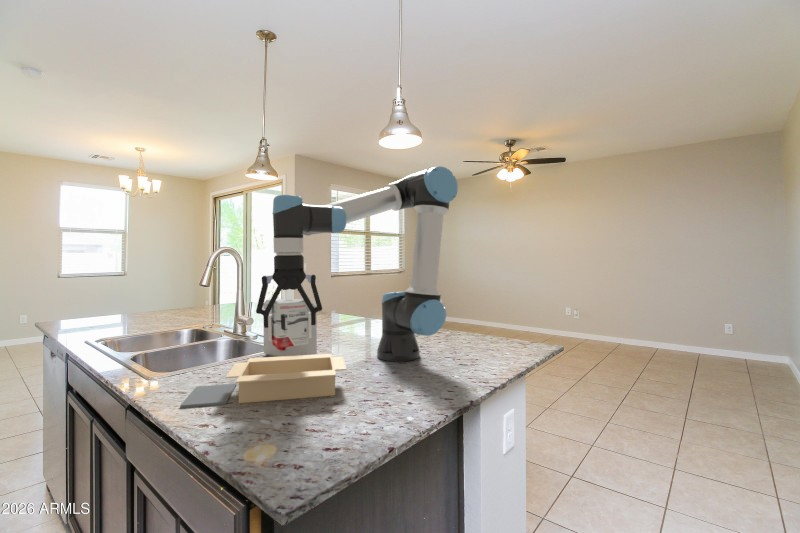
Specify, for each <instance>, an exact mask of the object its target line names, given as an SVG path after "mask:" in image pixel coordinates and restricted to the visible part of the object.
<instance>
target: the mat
mask: <svg viewBox="0 0 800 533" xmlns="http://www.w3.org/2000/svg"><path fill="white" fill-rule="evenodd" d="M236 387H237V383H227V384H225V383H224V384H214V385H213V384H212V385H199V386H195V388H194V389H193V390H192V391H191V392H190V394H188V395H187V397H186V398H185V399H184V400H183V401H182V403H181V404H180V405H179V408H180V409H183V408H185V409H186V408H195V407H206V406H207V407H208V406H210V407H211V406H219V405H220V406H221V405H227V403H228V401H229V400H230V397H231V396H232V395H233V392H234V390H236Z"/></svg>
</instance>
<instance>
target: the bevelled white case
mask: <svg viewBox="0 0 800 533" xmlns="http://www.w3.org/2000/svg"><path fill="white" fill-rule="evenodd" d="M270 300H271V298H270V299H265V300H264V304H263V309H266V307H267V305H268V304H269V302H270ZM278 300H286V299H283V298H277V299H276V301H278ZM311 303H312V305H313V306H314V307H317V305H316V302H314V301H311ZM308 313H311V311H310V310H309V308H308ZM269 314H272V308H271V310H270V312H269ZM317 314H318V312H316V324H315V325H311V336H312V338H309V344H305V345H298V346H291V347H284V348H276V347H275V346H274V345H273V343H272V341H269V334H268V328H265V327H264V326H263V353H264V355H266V356H268V357H280V356H298V355H315V354H318V352H317V350H318V346H317V344H318V340H317V339H318V336H317V333H318V331H317V327H318V326H317V317H318V316H317ZM262 316H263V315H262ZM263 320H264V316H263Z"/></svg>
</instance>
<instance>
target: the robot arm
mask: <svg viewBox="0 0 800 533" xmlns="http://www.w3.org/2000/svg"><path fill="white" fill-rule="evenodd" d="M458 186H459V185H458V182H457V179H456V176H455V175H454V173H453V172H452V171H451V170H450V169H448V168H447V167H445V166H441V165H440V166H438V165H437V166H433V167H432V166H431V167H428V168H426V169H424V170H421V171H417V172H414V173H412V174H409V175H407V176H405V177H403V178H401V179H399V180H396V181H394V182H390V183H388V184H386V186H385V187H384V188H380V189H376V190H373V191H370V192H365V193H362V194H360V195H355V196H352V197H349V198H345V199H342V200H337V201H334V202H331V203H327V204H324V205H320V204H319V205H317V204H315V205H314V204H306V203H304V201H303V197H302V196H301V195H296V194H279V195H275V197H274V198H273V203H272V223H273V225H272V226H273V253H274V254H275V255H274V256H273V262H274V263H273V268H274V270H273V274H272V275H263V276H261V284H262V286H261V290H260V293H259V297H258V302H257V306H256V310H255V312H256V314H258V315H262V316H264V319H263V328H264V327H265V328H268V334H269V341H272V314H269V312H270V310H271V308H272V306H273V304H274V302H275V301H276V299H278V297H279V295H280V293H281V291H282V290H283V291H287V290H297V291H298V293H299V294H300V296H301V299H303V300H304V301H305V303H306V305H307V306H308V308H309V310H310V311H311V313H308V331H309V338H312V336H311V325H315V324H316V312H317V313H318V312H321V311H322V310H323V306H322V301H321V299H320V295H319V292H318V288H317V285H316V279H317V277H316V275H315V274H313V273H312V274H306V272H305V267H304V266H305V261H304V260H305V258H304V256H303V255H302V254H303V253H304V236H311V235H318V234H340V233H343V232H344V231H345V228H346V226H347V224H349V223H352V222H355V221H356V222H357V221H359V220H362V219H365V218H368V217H371V216H374V215H378V214H380V213H384V212H387V211H391V210H393V211H395V212H396V211H400V210H404V209H412V208H413V210H414V211H415V212H416V223H415V224H416V225H415V232H414V233H415V234H414V245H413V253H412V254H413V255H412V265H411V275H410V284H409V287H407V289H406V290H405V291H395V292H386V293H384V294H383V295H382V298H381V322H382V323H381V330H382V331H381V332H382V333H381V337H380V340H379V343H378V346H377V350H376V351H377V352H376V357H377V358H378V359H380V360H382V361H386V362H396V363H397V362H410V361H414V360H417V359H418V358H420V352H421V351H420V347H419V343H418V341H417V338H416V335H419V336H424V337H429V336H432V335H436V334H437V333H438V332H439V331H440V330H441V329H442V328H443V326H444V325H445V322H446V318H447V311H446V307H445V306H444V304H443V302H441V296H442V295H441V294H442V293H441V292H439V290H438V286H437V285H438V280H439V278H438V277H439V268H440V267H439V266H440V255H441V247H442V246H441V245H442V243H441V242H442V237H443V236H442V235H443V222H444V216H445V215H446V214H447V213H448V212H449V211H450V210H449V208H450V202H452V201H453V200H454V199H455V198H456V196H457V195H458V191H459V187H458ZM305 279H306V280H307V282H308V283H309V284H310V287H311V291H312V294H313V298H314V301H315V304H316V305H317V307H314V306H313V305H312V303H311V302H312V301H311V300H310V298H309V296H308V294H307V292H306V291H305V289H304V288H303V285H302V284H303V282H304V281H305ZM272 280H273V282H275V284H276V285H277V287H276V288H275V290H274V292H273V294H272V296H271V298H270V299H271V300H270V302H269V304H268V305H267V307H266V309H263V304H264V302H265V301H266V297H267V291H268V287H269V284H271V282H272Z"/></svg>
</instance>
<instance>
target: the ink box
mask: <svg viewBox="0 0 800 533" xmlns="http://www.w3.org/2000/svg"><path fill="white" fill-rule="evenodd" d="M272 343H273V345H274V346H275V347H276V348H284V347H291V346H298V345H305V344H309V331H308V306H307V305H306V303H305V301H304V300H303V298H293V299H285V300H278V301H275V302H274V304H273V306H272Z"/></svg>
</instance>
